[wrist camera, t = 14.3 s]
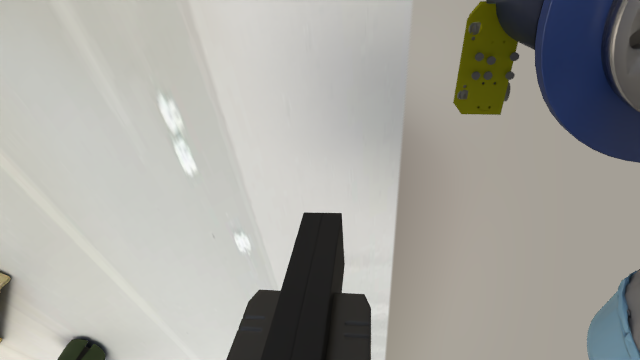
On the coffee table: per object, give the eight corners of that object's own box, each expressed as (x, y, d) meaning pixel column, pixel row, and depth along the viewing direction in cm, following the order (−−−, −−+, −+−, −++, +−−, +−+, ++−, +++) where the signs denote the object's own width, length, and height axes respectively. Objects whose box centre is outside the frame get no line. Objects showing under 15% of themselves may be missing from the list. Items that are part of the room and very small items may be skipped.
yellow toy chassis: (506, 115, 55) (452, 115, 56) (496, 104, 60) (445, 103, 61) (535, 3, 47) (470, 4, 48) (520, 0, 52) (461, 1, 53)
